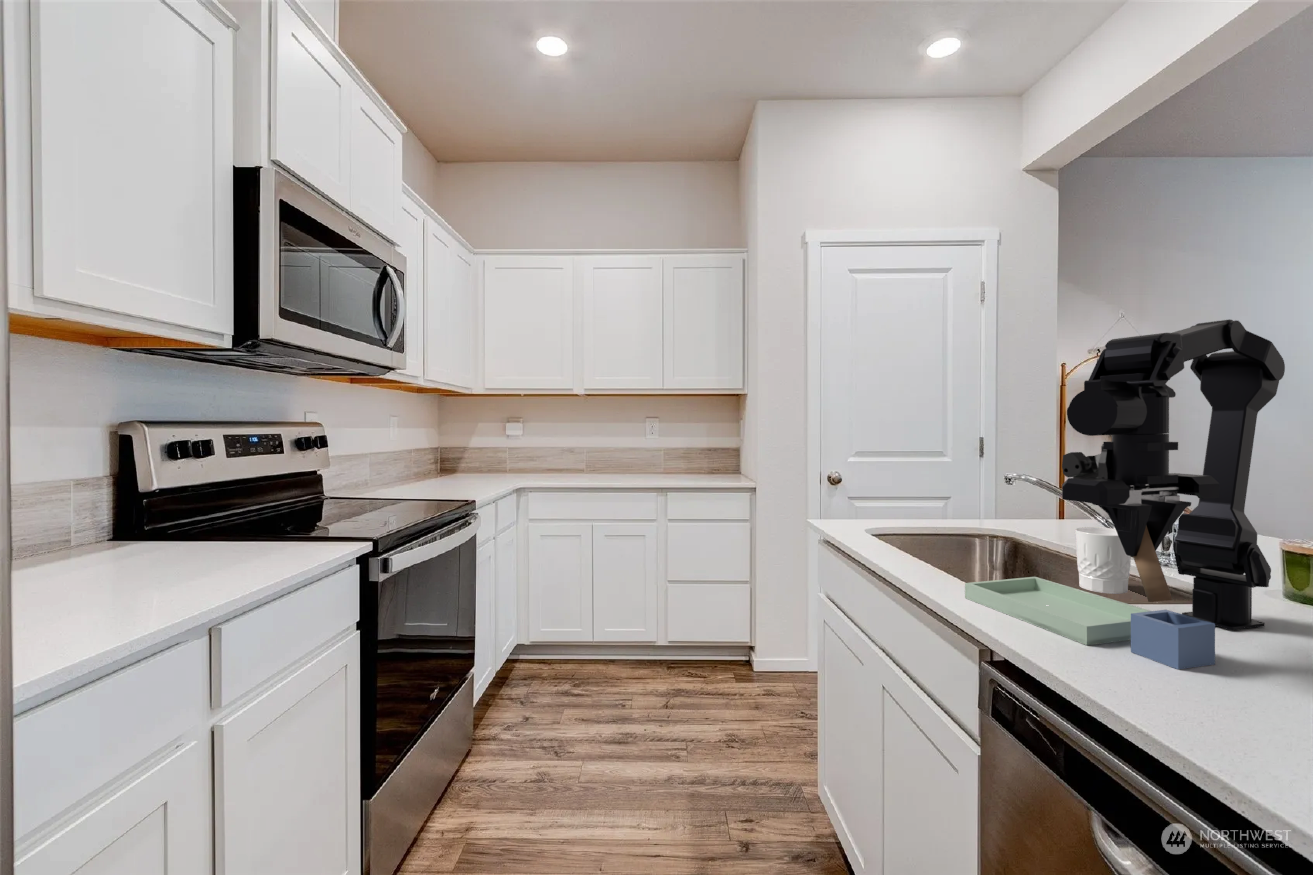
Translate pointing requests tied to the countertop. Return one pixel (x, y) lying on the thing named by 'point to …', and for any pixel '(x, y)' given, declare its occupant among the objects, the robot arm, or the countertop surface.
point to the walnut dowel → (1151, 571)
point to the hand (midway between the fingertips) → (1139, 555)
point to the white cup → (1101, 560)
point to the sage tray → (1057, 608)
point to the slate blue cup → (1173, 639)
